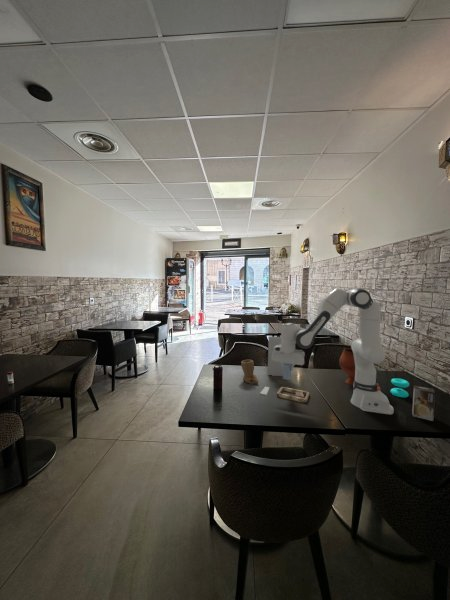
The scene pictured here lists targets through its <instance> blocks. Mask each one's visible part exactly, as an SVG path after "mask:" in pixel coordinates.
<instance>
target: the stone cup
mask: <svg viewBox="0 0 450 600" xmlns="http://www.w3.org/2000/svg"><path fill="white" fill-rule="evenodd" d="M241 369H242V372H243V380H244V382H245V383H248V384H254V385H255V384H257V383H259V380H258V377H257V376H256V374H254V371H255V363H254V360H252V359H244V360H242V361H241Z"/></svg>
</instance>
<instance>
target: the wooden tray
mask: <svg viewBox="0 0 450 600" xmlns="http://www.w3.org/2000/svg"><path fill="white" fill-rule="evenodd" d="M283 391H284V392H288V393H292V394H295V393H296V392H303V395H304V398H300V397H296V395H290V394H286V393H282V392H283ZM276 397H277V398H282V399H286V400H291V401H295V402H299V403H304V404H307V403H308V400H309V397H310V392H309V391H307V390H302V389H301V390H300V389H295V388H290V387H286V386H281V387H280V388H278V390H277V393H276Z"/></svg>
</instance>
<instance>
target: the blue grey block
mask: <svg viewBox="0 0 450 600" xmlns="http://www.w3.org/2000/svg"><path fill="white" fill-rule="evenodd" d="M290 367H292V364H290V363H285V364H284V367H283V376H282V380H288V381H289V380H290V378H292V371H291V370H290Z"/></svg>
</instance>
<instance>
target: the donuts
mask: <svg viewBox="0 0 450 600" xmlns="http://www.w3.org/2000/svg"><path fill="white" fill-rule="evenodd" d="M390 383H391V384H392V385H394V386H395V387H393V388H391V389H390V391H389V393H390V394H392V396H394V397H398V398H402V399H405V398H408V397H409V393H408V391H406V390H405V389H404V388H408V387H409V386H410V382H409V381H408V380H406V379H403V378H391V380H390Z"/></svg>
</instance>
